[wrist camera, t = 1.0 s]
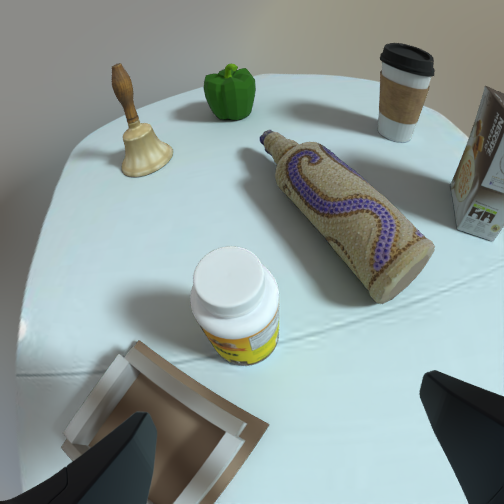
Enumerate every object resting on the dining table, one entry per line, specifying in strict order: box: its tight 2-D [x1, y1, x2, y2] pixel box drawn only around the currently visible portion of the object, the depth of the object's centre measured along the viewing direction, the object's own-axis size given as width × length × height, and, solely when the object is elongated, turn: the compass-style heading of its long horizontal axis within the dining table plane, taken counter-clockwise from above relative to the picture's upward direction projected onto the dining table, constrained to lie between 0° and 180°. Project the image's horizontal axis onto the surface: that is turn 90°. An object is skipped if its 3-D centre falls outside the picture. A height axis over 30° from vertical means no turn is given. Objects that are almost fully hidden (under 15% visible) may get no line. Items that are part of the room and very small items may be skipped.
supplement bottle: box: [190, 246, 279, 366], centre depth 20 cm, size 6×6×10 cm
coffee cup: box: [378, 43, 434, 143], centre depth 35 cm, size 8×8×15 cm
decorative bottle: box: [260, 130, 435, 304], centre depth 30 cm, size 26×8×7 cm, turn 27°
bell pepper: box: [204, 64, 256, 120], centre depth 43 cm, size 8×8×10 cm
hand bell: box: [112, 63, 173, 177], centre depth 35 cm, size 8×8×16 cm
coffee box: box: [450, 86, 504, 241], centre depth 24 cm, size 9×6×16 cm
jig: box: [61, 340, 269, 504], centre depth 18 cm, size 13×13×4 cm
